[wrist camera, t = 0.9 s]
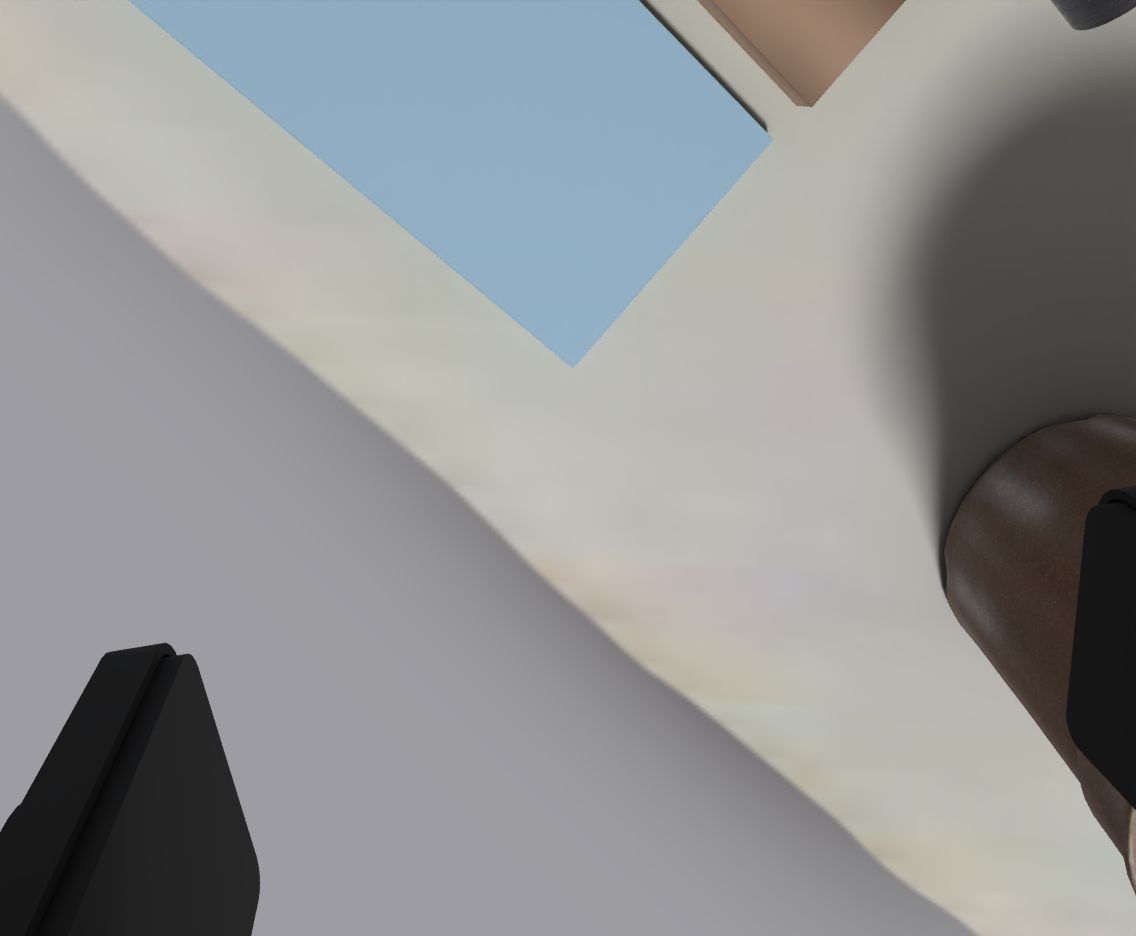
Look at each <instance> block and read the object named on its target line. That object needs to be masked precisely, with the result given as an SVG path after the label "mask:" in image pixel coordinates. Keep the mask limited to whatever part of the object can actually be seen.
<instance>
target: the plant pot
mask: <svg viewBox="0 0 1136 936" xmlns="http://www.w3.org/2000/svg"><path fill="white" fill-rule="evenodd" d="M1130 486H1136V419H1135V418H1132V417H1126V416H1120V415H1111V414H1098V415H1094V416H1092V417H1091V418H1088V419H1084V420H1078V421H1073V422H1068V423H1063V424H1056V425H1048V426H1046V427H1044V428H1042V429H1040V430H1038V431H1036V432H1034V433H1032V434H1030V435H1028V436H1027V437H1025V438H1024V439H1022V440H1021V441H1019V442H1017V443H1016V444H1015V445H1013V446H1012V447H1011V448H1009V449H1008V450H1007V451H1006V452H1004V453H1003V454H1002V455H1001V456H1000V457H999V458H998V459H996V460H995V461H994V462H993V463H992V464H991V465H990V466H989V467H988V468H987V469H986V470H985V471H984V473H983V474H982V475H981V476H980V477H979V478H978V480H977V481H976V482H975V484H974V485H973V486H972V488H971V489H970V490H969V492H968V493H967V495H966V496H965V498H964V500H963V501H962V503H961V504H960V506H959V508H958V510H957V512H956V514H955V516H954V519H953V521H952V523H951V526H950V528H949V531H948V534H947V538H946V542H945V547H944V556H945V563H946V569H947V583H946V590H945V593H946V597H947V600H948V603H949V605H950V607H951V609H952V611H953V613H954V615H955V617H956V618H957V620H958V622H959V623H960V625H961V626H962V627H963V628H964V629H965V631H966V632H967V633H968V634H969V636H970V637H971V638H972V639H973V641H974V642H975V643H976V644H977V645H978V647H979V648H980V649H981V651H982V652H983V653H984V655H985V656H986V657H987V659H988V660H989V661H990V662H991V664H992V665H993V666H994V668H995V669H996V670H997V672H998V673H999V674H1000V676H1001V677H1002V678H1003V680H1004V681H1005V682H1006V684H1007V685H1008V686H1009V688H1010V689H1011V690H1012V691H1013V693H1014V694H1015V695H1016V697H1017V698H1018V699H1019V701H1020V702H1021V703H1022V705H1023V706H1024V707H1025V709H1026V710H1027V711H1028V713H1029V714H1030V715H1031V717H1032V718H1033V719H1034V721H1035V722H1036V723H1037V725H1038V726H1039V727H1040V729H1041V730H1042V732H1043V733H1044V734H1045V736H1046V737H1047V738H1048V740H1049V741H1050V742H1051V744H1052V745H1053V746H1054V748H1055V749H1056V751H1057V752H1058V753H1059V755H1060V756H1061V757H1062V759H1063V760H1064V761H1065V763H1066V764H1067V765H1068V767H1069V768H1070V770H1071V771H1072V772H1073V774H1074V775H1075V776H1076V778H1077V779H1078V781H1079V782H1080V783H1081V787H1082V791H1083V794H1084V797H1085V799H1086V802H1087V804H1088V806H1089V808H1090V810H1091V811H1092V813H1093V815H1094V817H1095V818H1096V819H1097V821H1098V822H1099V824H1100V825H1101V826H1102V828H1103V829H1104V831H1105V832H1106V833H1107V835H1108V836H1109V838H1110V839H1111V840H1112V842H1113V843H1114V845H1115V846H1116V847H1117V849H1118V850H1119V852H1120V853H1121V855H1122V856H1123V857H1124V861H1125V866H1126V870H1127V875H1128V877H1129V880H1130V882H1131V885H1132V887H1133V890H1134V892H1135V894H1136V810H1135V809H1134V808H1133V807H1132V806H1131V805H1130V804H1129V803H1128V802H1127V800H1126V799H1125V798H1124V797H1123V796H1122V795H1121V794H1120V793H1119V792H1118V791H1117V790H1116V789H1115V788H1114V787H1113V786H1112V784H1111V783H1110V782H1109V781H1108V780H1107V779H1106V778H1105V777H1104V776H1103V775H1102V774H1101V773H1100V772H1099V771H1098V769H1097V768H1096V767H1095V766H1094V765H1093V764H1092V763H1091V762H1090V761H1089V760H1088V759H1087V758H1086V757H1085V756H1084V755H1083V753H1082V752H1081V751H1080V750H1079V749H1078V748H1077V746H1076V745H1075V743H1074V741H1073V740H1072V738H1071V735H1070V733H1069V730H1068V726H1067V721H1066V708H1067V698H1068V688H1069V678H1070V668H1071V659H1072V649H1073V639H1074V629H1075V619H1076V609H1077V599H1078V589H1079V580H1080V570H1081V560H1082V550H1083V540H1084V530H1085V521H1086V517H1087V514H1088V512H1089V510H1090V509H1091V508H1092V507H1094V506H1097V505H1098V504H1099V501H1100V499H1101V498H1102V496H1103V494H1104V493H1106V492H1107V491H1109V490H1111V489H1117V488H1123V487H1130Z"/></svg>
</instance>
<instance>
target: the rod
mask: <svg viewBox="0 0 1136 936" xmlns="http://www.w3.org/2000/svg"><path fill="white" fill-rule="evenodd" d="M1051 1H1052V3H1053V4H1054V5H1055V6H1056V8H1057V9H1058V10H1059V12H1060V13H1061V14H1062V15H1063V17H1064V18H1065V19H1066V21H1067V22H1068V23H1069V24H1070V26H1071V27H1072V28H1074V29H1076V30H1087V29H1092V28H1095V27H1098V26H1101V25H1103V24H1106V23H1108V22H1110V21H1112V20H1114V19H1116V18H1118V17H1120V16H1122V15H1123V14H1125V13H1127V12H1128V11H1130V10H1131V9H1133V8H1134V7H1136V0H1051Z"/></svg>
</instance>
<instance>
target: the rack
mask: <svg viewBox="0 0 1136 936" xmlns="http://www.w3.org/2000/svg"><path fill="white" fill-rule="evenodd" d="M698 1H699V2H700V4H701V5H702V6H703V7H704V8H705V9H706V10H707V11H708V12H709V13H710V14H711V15H712V16H713V17H714V18H715V19H716V20H717V22H718V23H719V24H720V25H721V26H722V27H723V28H724V29H725V30H726V31H727V32H728V33H729V34H730V35H731V36H732V37H733V39H734V40H735V41H736V42H737V43H738V44H739V45H740V46H741V47H742V48H743V49H744V50H745V51H746V52H747V53H748V54H749V56H750V57H751V58H752V59H753V60H754V61H755V62H756V63H757V64H758V65H759V66H760V67H761V68H762V69H763V70H764V71H765V73H766V74H767V75H768V76H769V77H770V78H771V79H772V80H773V81H774V82H775V83H776V84H777V85H778V86H779V87H780V88H781V89H782V91H783V92H784V93H785V94H786V95H787V96H788V97H789V98H790V99H791V100H792V101H793V102H794V103H795V104H796V105H797V106H807V107H812V106H813V105H814V104H815V103H816V102H817V101H818V100H819V98H820V97H821V96H822V95H823V94H824V93H825V92H826V90H827V89H828V88H829V87H830V86H831V85H832V84H833V83H834V81H835V80H836V79H837V78H838V77H839V76H840V75H841V73H842V72H843V71H844V70H845V69H846V68H847V67H848V65H849V64H850V63H851V62H852V61H853V60H854V59H855V57H856V56H857V55H858V54H859V53H860V52H861V51H862V49H863V48H864V47H865V46H866V45H867V44H868V43H869V41H870V40H871V39H872V38H873V37H874V36H875V35H876V34H877V32H878V31H879V30H880V29H881V28H882V27H883V26H884V24H885V23H886V22H887V21H888V20H889V19H890V18H891V16H892V15H893V14H894V13H895V12H896V11H897V10H898V8H899V7H900V6H901V5H902V4H903V3H904V2H905V0H698Z"/></svg>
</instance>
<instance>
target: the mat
mask: <svg viewBox="0 0 1136 936" xmlns="http://www.w3.org/2000/svg"><path fill="white" fill-rule="evenodd" d="M129 1H130V2H131V3H132V4H133V5H135V6H136V7H137V8H138V9H139V10H141V11H142V12H143V13H144V14H145V15H147V16H148V17H149V18H150V19H152V20H153V21H154V22H155V23H156V24H158V25H159V26H160V27H161V28H162V29H164V30H165V31H166V32H167V33H168V34H170V35H171V36H172V37H173V38H174V39H176V40H177V41H178V42H179V43H180V44H182V45H183V46H184V47H185V48H187V49H188V50H189V51H190V52H191V53H193V54H194V55H195V56H196V57H197V58H199V59H200V60H201V61H202V62H203V63H205V64H206V65H207V66H208V67H209V68H211V69H212V70H213V71H214V72H216V73H217V74H218V75H219V76H220V77H222V78H223V79H224V80H225V81H226V82H228V83H229V84H230V85H231V86H232V87H234V88H235V89H236V90H237V91H238V92H240V93H241V94H242V95H243V96H245V97H246V98H247V99H248V100H249V101H251V102H252V103H253V104H254V105H255V106H257V107H258V108H259V109H260V110H261V111H263V112H264V113H265V114H266V115H267V116H269V117H270V118H271V119H272V120H274V121H275V122H276V123H277V124H278V125H280V126H281V127H282V128H283V129H284V130H286V131H287V132H288V133H289V134H290V135H292V136H293V137H294V138H295V139H296V140H298V141H299V142H300V143H301V144H303V145H304V146H305V147H306V148H307V149H309V150H310V151H311V152H312V153H313V154H315V155H316V156H317V157H318V158H319V159H321V160H322V161H323V162H324V163H325V164H327V165H328V166H329V167H330V168H332V169H333V170H334V171H335V172H336V173H338V174H339V175H340V176H341V177H342V178H344V179H345V180H346V181H347V182H348V183H350V184H351V185H352V186H353V187H354V188H356V189H357V190H358V191H359V192H361V193H362V194H363V195H364V196H365V197H367V198H368V199H369V200H370V201H371V202H373V203H374V204H375V205H376V206H377V207H379V208H380V209H381V210H382V211H383V212H385V213H386V214H387V215H388V216H390V217H391V218H392V219H393V220H394V221H396V222H397V223H398V224H399V225H400V226H402V227H403V228H404V229H405V230H406V231H408V232H409V233H410V234H411V235H412V236H414V237H415V238H416V239H417V240H419V241H420V242H421V243H422V244H423V245H425V246H426V247H427V248H428V249H429V250H431V251H432V252H433V253H434V254H435V255H437V256H438V257H439V258H440V259H441V260H443V261H444V262H445V263H446V264H448V265H449V266H450V267H451V268H452V269H454V270H455V271H456V272H457V273H458V274H460V275H461V276H462V277H463V278H464V279H466V280H467V281H468V282H469V283H470V284H472V285H473V286H474V287H475V288H476V289H478V290H479V291H480V292H481V293H483V294H484V295H485V296H486V297H487V298H489V299H490V300H491V301H492V302H493V303H495V304H496V305H497V306H498V307H499V308H501V309H502V310H503V311H504V312H505V313H507V314H508V315H509V316H510V317H512V318H513V319H514V320H515V321H516V322H518V323H519V324H520V325H521V326H522V327H524V328H525V329H526V330H527V331H528V332H530V333H531V334H532V335H533V336H534V337H536V338H537V339H538V340H539V341H541V342H542V343H543V344H544V345H545V346H547V347H548V348H549V349H550V350H551V351H553V352H554V353H555V354H556V355H557V356H559V357H560V358H561V359H562V360H563V361H565V362H566V363H567V364H568V365H570V366H571V367H572V368H574V367H575V366H576V365H577V363H578V362H579V361H580V360H581V359H582V358H583V357H584V355H585V354H586V353H587V352H588V351H589V350H590V349H591V347H592V346H593V345H594V344H595V343H596V342H597V341H598V339H599V338H600V337H601V336H602V335H603V334H604V333H605V331H606V330H607V329H608V328H609V327H610V326H611V325H612V323H613V322H614V321H615V320H616V319H617V318H618V317H619V315H620V314H621V313H622V312H623V311H624V310H625V309H626V307H627V306H628V305H629V304H630V303H631V302H632V301H633V300H634V298H635V297H636V296H637V295H638V294H639V293H640V292H641V290H642V289H643V288H644V287H645V286H646V285H647V284H648V282H649V281H650V280H651V279H652V278H653V277H654V276H655V274H656V273H657V272H658V271H659V270H660V269H661V268H662V266H663V265H664V264H665V263H666V262H667V261H668V260H669V258H670V257H671V256H672V255H673V254H674V253H675V252H676V250H677V249H678V248H679V247H680V246H681V245H682V244H683V242H684V241H685V240H686V239H687V238H688V237H689V236H690V234H691V233H692V232H693V231H694V230H695V229H696V228H697V226H698V225H699V224H700V223H701V222H702V221H703V220H704V218H705V217H706V216H707V215H708V214H709V213H710V212H711V210H712V209H713V208H714V207H715V206H716V205H717V204H718V202H719V201H720V200H721V199H722V198H723V197H724V196H725V194H726V193H727V192H728V191H729V190H730V189H731V188H732V186H733V185H734V184H735V183H736V182H737V181H738V180H739V178H740V177H741V176H742V175H743V174H744V173H745V172H746V170H747V169H748V168H749V167H750V166H751V165H752V164H753V162H754V161H755V160H756V159H757V158H758V157H759V156H760V154H761V153H762V152H763V151H764V150H765V149H766V148H767V146H768V145H769V144H770V143H771V142H772V141H773V140H774V139H773V138H772V137H771V136H770V135H769V134H768V133H767V132H766V131H765V130H764V129H763V128H762V127H761V126H760V125H759V124H758V123H757V122H756V121H755V120H754V119H753V118H752V117H751V116H750V115H749V113H748V112H747V111H746V110H745V109H744V108H743V107H742V106H741V105H740V104H739V103H738V102H737V101H736V100H735V99H734V98H733V97H732V96H731V95H730V94H729V93H728V92H727V91H726V90H725V89H724V88H723V87H722V86H721V85H720V84H719V83H718V82H717V80H716V79H715V78H714V77H713V76H712V75H711V74H710V73H709V72H708V71H707V70H706V69H705V68H704V67H703V66H702V65H701V64H700V63H699V62H698V61H697V60H696V59H695V58H694V57H693V56H692V55H691V54H690V53H689V52H688V51H687V50H686V48H685V47H684V46H683V45H682V44H681V43H680V42H679V41H678V40H677V39H676V38H675V37H674V36H673V35H672V34H671V33H670V32H669V31H668V30H667V29H666V28H665V27H664V26H663V25H662V24H661V23H660V22H659V21H658V20H657V19H656V18H655V17H654V15H653V14H652V13H651V12H650V11H649V10H648V9H647V8H646V7H645V6H644V5H643V4H642V3H641V2H640V1H639V0H129Z"/></svg>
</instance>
